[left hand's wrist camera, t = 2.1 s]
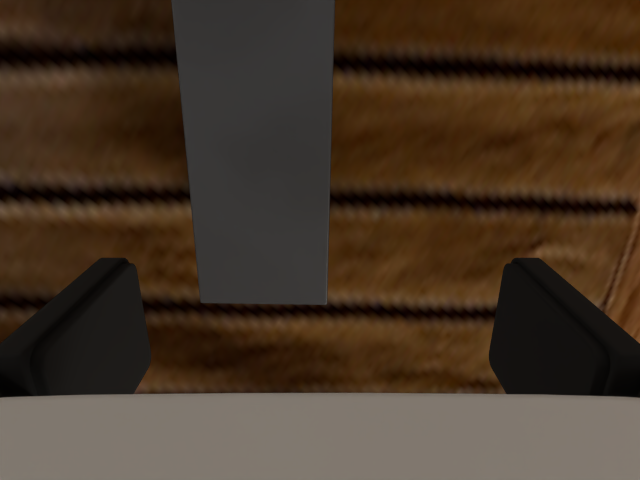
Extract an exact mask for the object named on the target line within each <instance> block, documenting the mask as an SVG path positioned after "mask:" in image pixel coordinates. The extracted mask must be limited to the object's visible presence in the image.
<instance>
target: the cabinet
mask: <svg viewBox="0 0 640 480" xmlns="http://www.w3.org/2000/svg"><path fill="white" fill-rule="evenodd" d="M171 2H172V12H173V22H174V33H175V43H176V53H177V64H178V74H179V85H180V95H181V105H182V116H183V126H184V136H185V147H186V157H187V168H188V178H189V188H190V199H191V209H192V220H193V230H194V240H195V251H196V261H197V271H198V282H199V292H200V302H201V303H244V304H312V305H326V304H327V288H328V249H329V211H330V172H331V133H332V95H333V56H334V17H335V0H171Z"/></svg>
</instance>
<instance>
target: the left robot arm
mask: <svg viewBox="0 0 640 480" xmlns="http://www.w3.org/2000/svg"><path fill="white" fill-rule="evenodd" d="M150 361H151V350H150V344H149V339H148V333H147V327H146V321H145V316H144V310H143V304H142V298H141V293H140V287H139V281H138V275H137V270H136V267H135V265H134V264H129V262H128V260H127V259H126V258H101V259H99V260H98V261H97V262H95V263H94V264H93V265H92V266H91V267H90V268H88V269H87V270H86V271H85V272H84V273H82V274H81V275H80V276H79V277H78V278H77V279H75V280H74V281H73V282H72V283H71V284H70V285H68V286H67V287H66V288H65V289H64V290H63V291H61V292H60V293H59V294H58V295H57V296H56V297H54V298H53V299H52V300H51V301H50V302H49V303H47V304H46V305H45V306H44V307H43V308H42V309H40V310H39V311H38V312H37V313H36V314H34V315H33V316H32V317H31V318H30V319H29V320H27V321H26V322H25V323H24V324H23V325H22V326H20V327H19V328H18V329H17V330H16V331H15V332H13V333H12V334H11V335H10V336H9V337H8V338H6V339H5V340H4V341H3V342H2V343H1V344H0V480H640V344H639V343H638V342H637V341H636V340H635V339H634V338H632V337H631V336H630V335H629V334H628V333H627V332H625V331H624V330H623V329H622V328H621V327H620V326H618V325H617V324H616V323H615V322H614V321H613V320H611V319H610V318H609V317H608V316H607V315H606V314H604V313H603V312H602V311H601V310H600V309H598V308H597V307H596V306H595V305H594V304H593V303H591V302H590V301H589V300H588V299H587V298H586V297H584V296H583V295H582V294H581V293H580V292H579V291H577V290H576V289H575V288H574V287H573V286H572V285H570V284H569V283H568V282H567V281H566V280H565V279H563V278H562V277H561V276H560V275H559V274H558V273H556V272H555V271H554V270H553V269H552V268H550V267H549V266H548V265H547V264H546V263H545V262H543V261H542V260H541V259H539V258H514V259H513V260H512V262H511V264H506V265H505V267H504V270H503V275H502V281H501V287H500V293H499V298H498V304H497V310H496V316H495V321H494V327H493V333H492V339H491V344H490V350H489V361H490V365H491V368H492V369H493V371H494V373H495V375H496V376H497V378H498V380H499V382H500V383H501V385H502V387H503V388H504V390H505V392H506V394H424V393H204V394H134V392H135V390H136V388H137V387H138V385H139V383H140V382H141V380H142V378H143V376H144V375H145V373H146V371H147V369H148V368H149V365H150Z"/></svg>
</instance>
